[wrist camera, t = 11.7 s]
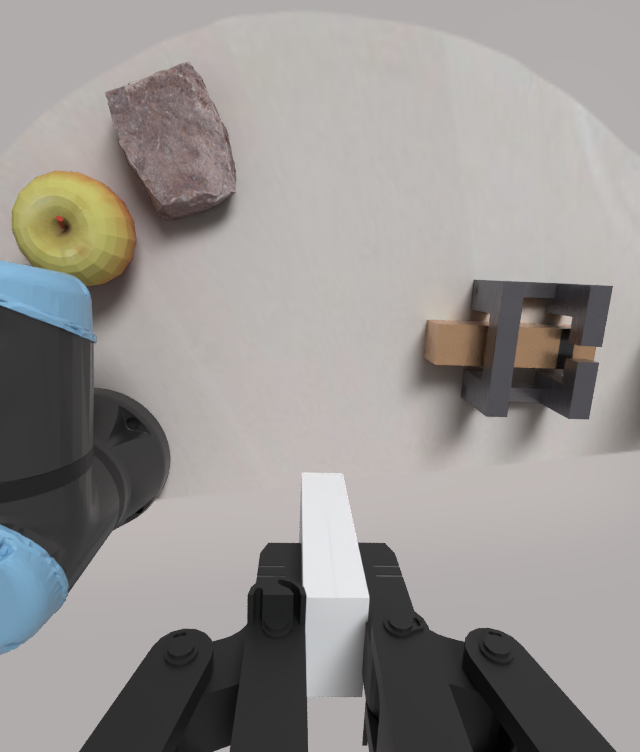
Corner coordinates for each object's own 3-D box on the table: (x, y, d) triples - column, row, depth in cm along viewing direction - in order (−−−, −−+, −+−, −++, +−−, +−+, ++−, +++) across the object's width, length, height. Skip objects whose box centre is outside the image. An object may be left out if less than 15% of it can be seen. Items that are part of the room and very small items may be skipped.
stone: (251, 196, 45) (245, 187, 40) (167, 229, 45) (151, 224, 41) (202, 67, 42) (190, 43, 38) (112, 104, 43) (90, 85, 38)
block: (423, 357, 49) (434, 364, 45) (427, 319, 48) (438, 324, 44) (569, 362, 50) (592, 369, 46) (575, 325, 49) (598, 329, 45)
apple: (149, 189, 44) (117, 172, 36) (144, 291, 46) (113, 295, 39) (43, 174, 44) (-12, 153, 36) (43, 278, 46) (-10, 280, 38)
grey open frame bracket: (460, 396, 50) (486, 416, 43) (474, 279, 47) (503, 281, 41) (549, 399, 51) (588, 419, 44) (568, 283, 48) (612, 286, 41)
